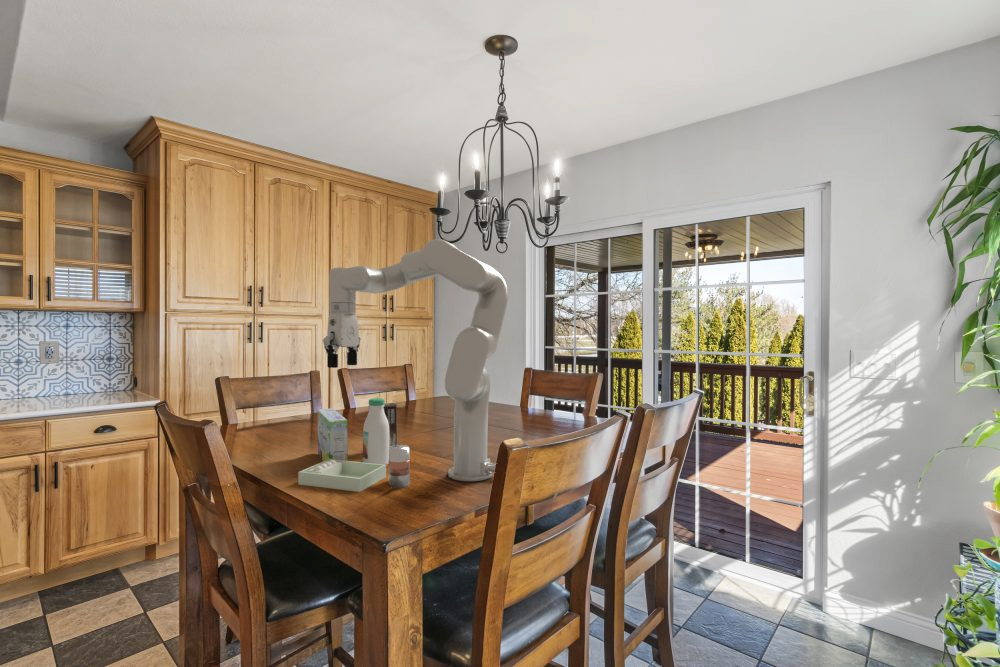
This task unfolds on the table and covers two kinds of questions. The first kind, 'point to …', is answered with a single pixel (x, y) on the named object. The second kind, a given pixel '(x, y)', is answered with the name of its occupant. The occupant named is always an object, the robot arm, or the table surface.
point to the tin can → (399, 466)
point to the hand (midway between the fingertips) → (342, 366)
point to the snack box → (332, 435)
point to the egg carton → (328, 468)
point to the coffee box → (391, 422)
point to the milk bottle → (376, 434)
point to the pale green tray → (345, 476)
